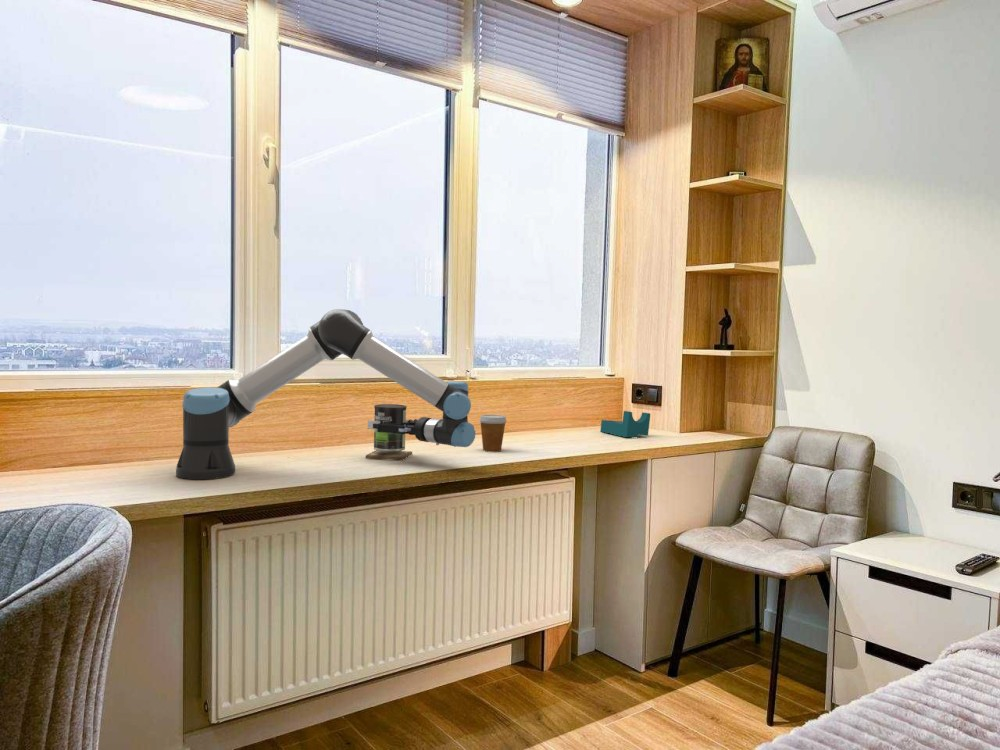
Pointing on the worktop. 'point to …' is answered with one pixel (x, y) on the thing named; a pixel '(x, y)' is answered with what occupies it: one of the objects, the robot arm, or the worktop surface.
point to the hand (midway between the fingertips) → (380, 423)
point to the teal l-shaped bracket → (627, 425)
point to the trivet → (389, 455)
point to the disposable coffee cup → (492, 431)
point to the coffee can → (389, 415)
